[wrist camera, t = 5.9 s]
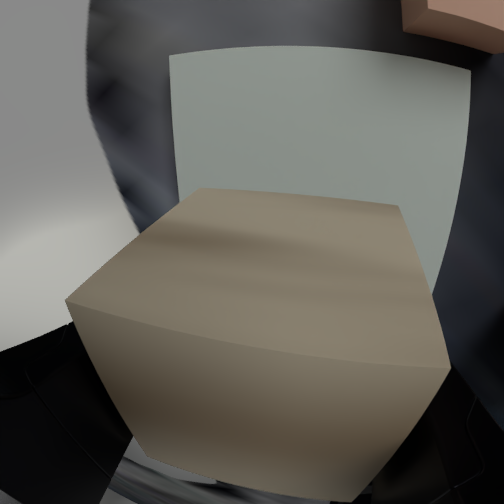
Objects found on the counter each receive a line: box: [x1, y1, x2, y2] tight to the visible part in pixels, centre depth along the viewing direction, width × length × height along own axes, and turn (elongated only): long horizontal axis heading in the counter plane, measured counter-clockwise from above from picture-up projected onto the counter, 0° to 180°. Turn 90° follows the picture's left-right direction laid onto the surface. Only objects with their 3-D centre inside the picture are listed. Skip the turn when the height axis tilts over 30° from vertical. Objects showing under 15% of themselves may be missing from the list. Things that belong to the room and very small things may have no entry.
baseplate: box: [169, 46, 471, 295], centre depth 15 cm, size 14×14×2 cm
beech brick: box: [65, 188, 451, 502], centre depth 7 cm, size 5×5×5 cm
